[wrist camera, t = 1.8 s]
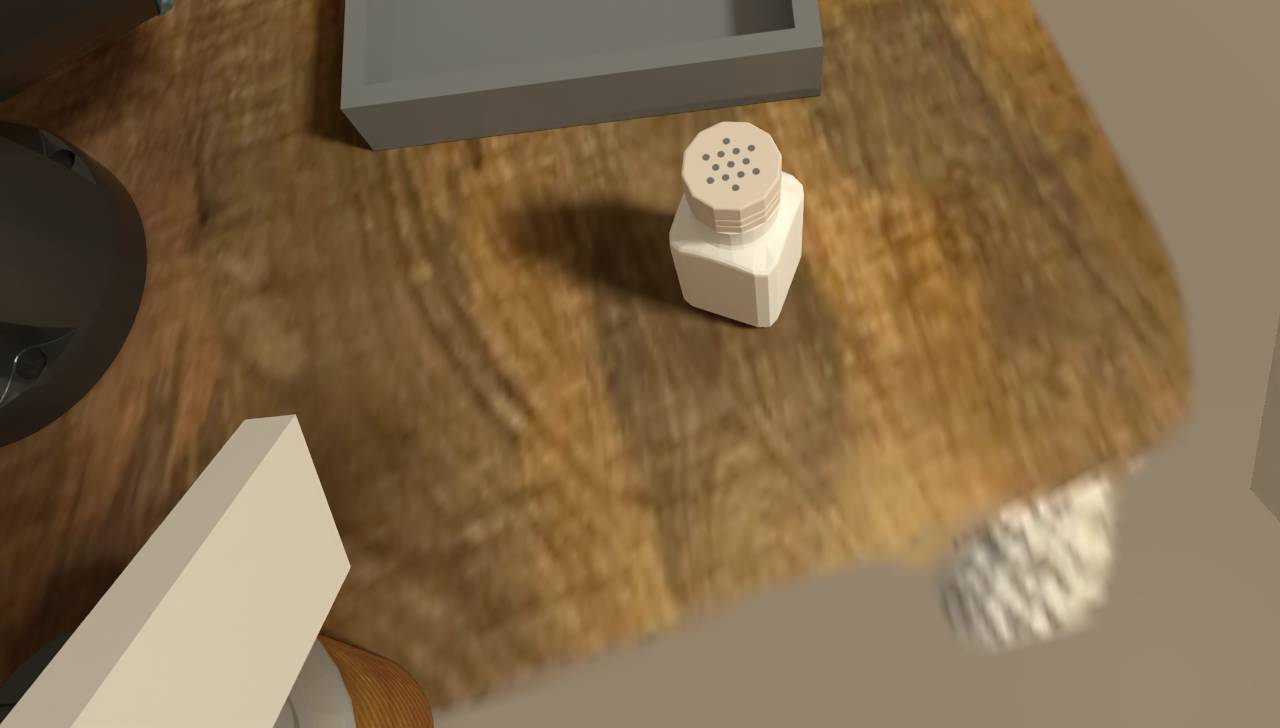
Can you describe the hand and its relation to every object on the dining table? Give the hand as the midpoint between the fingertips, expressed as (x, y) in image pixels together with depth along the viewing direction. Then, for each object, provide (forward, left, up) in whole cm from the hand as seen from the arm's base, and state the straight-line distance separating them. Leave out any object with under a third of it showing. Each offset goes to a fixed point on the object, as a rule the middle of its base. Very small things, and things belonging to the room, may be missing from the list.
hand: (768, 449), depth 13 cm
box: (-6, +29, -24) cm, 38 cm away
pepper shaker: (0, +12, -24) cm, 27 cm away
